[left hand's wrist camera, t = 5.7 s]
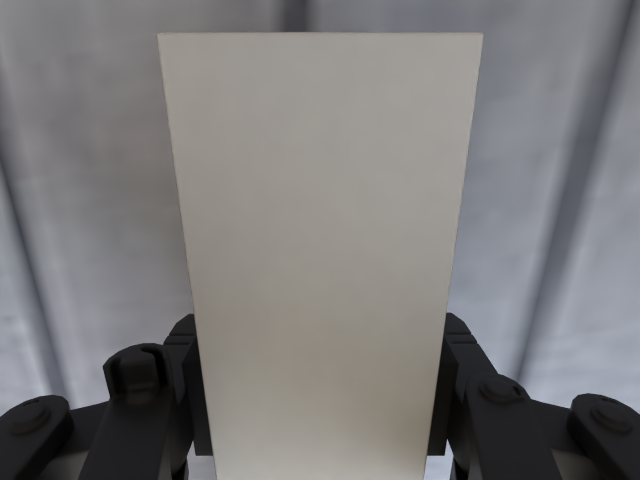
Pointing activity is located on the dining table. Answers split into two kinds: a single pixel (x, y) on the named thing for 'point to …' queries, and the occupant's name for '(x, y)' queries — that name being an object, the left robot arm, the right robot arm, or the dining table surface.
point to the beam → (320, 239)
